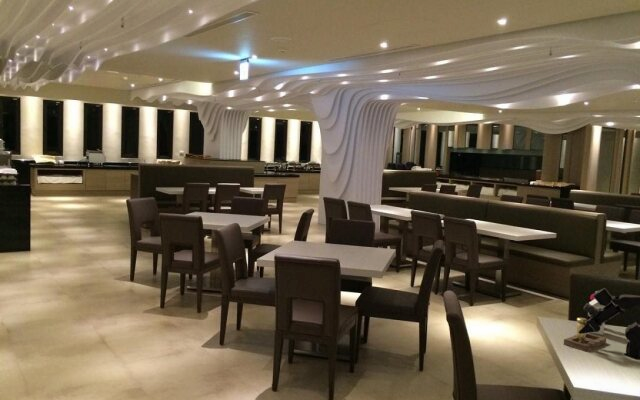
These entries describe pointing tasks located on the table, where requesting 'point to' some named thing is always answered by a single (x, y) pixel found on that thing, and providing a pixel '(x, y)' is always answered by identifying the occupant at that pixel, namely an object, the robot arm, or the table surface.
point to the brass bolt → (580, 325)
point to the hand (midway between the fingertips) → (579, 330)
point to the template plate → (590, 342)
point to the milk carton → (597, 305)
